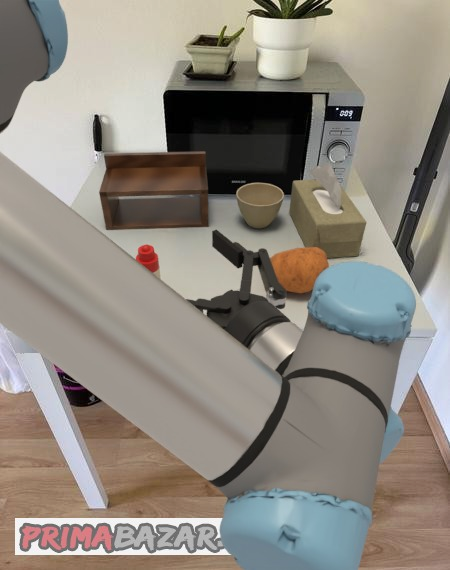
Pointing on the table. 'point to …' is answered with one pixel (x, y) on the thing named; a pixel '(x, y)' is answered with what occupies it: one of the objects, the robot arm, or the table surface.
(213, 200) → the table surface
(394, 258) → the table surface
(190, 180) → the shelf
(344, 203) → the tissue box
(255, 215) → the beige bowl
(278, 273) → the potato
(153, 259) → the red cream bottle
